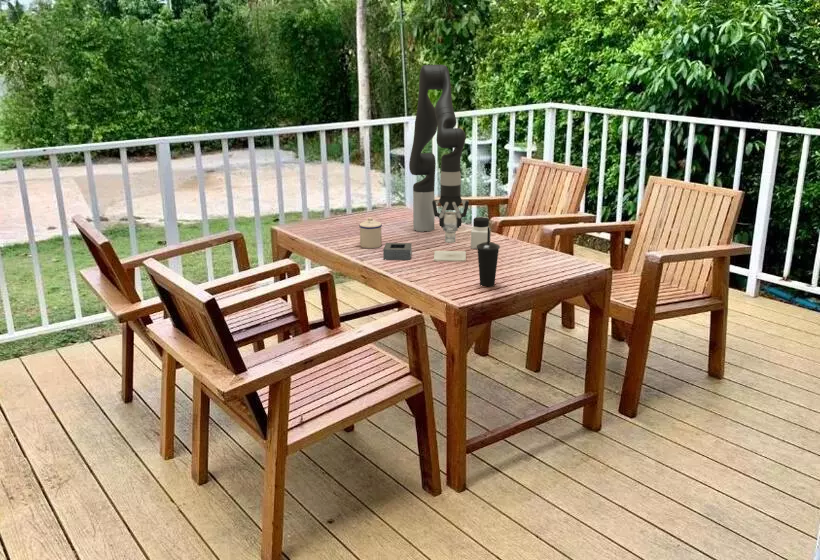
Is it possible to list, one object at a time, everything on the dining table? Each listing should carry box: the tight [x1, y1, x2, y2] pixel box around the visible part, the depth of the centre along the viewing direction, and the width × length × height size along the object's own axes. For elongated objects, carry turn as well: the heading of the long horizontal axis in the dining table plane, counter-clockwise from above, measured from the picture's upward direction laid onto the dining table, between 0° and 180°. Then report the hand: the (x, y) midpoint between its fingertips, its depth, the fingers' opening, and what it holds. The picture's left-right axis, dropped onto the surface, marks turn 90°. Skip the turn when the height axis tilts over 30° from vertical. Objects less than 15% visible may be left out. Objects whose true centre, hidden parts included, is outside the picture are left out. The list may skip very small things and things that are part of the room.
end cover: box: [442, 211, 459, 244], centre depth 278 cm, size 6×6×11 cm
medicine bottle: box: [470, 216, 492, 250], centre depth 294 cm, size 7×7×12 cm
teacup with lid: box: [358, 216, 383, 249], centre depth 298 cm, size 12×9×12 cm
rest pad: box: [433, 250, 467, 262], centre depth 282 cm, size 12×12×1 cm
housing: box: [382, 242, 413, 261], centre depth 283 cm, size 10×10×4 cm
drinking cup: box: [477, 226, 501, 287], centre depth 246 cm, size 8×8×20 cm
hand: (450, 227), depth 279 cm, fingers closed on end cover, 5 cm apart
